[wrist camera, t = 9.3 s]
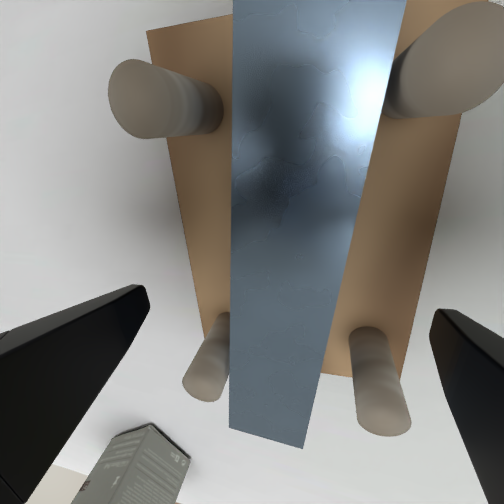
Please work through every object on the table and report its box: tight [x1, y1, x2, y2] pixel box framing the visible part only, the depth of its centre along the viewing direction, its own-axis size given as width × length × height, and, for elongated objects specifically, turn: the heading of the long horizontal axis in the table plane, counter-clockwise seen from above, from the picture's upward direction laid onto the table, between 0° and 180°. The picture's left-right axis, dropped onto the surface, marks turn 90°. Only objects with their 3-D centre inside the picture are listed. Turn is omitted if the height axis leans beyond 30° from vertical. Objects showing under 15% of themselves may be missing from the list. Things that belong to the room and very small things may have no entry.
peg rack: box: [108, 0, 504, 436], centre depth 12 cm, size 12×18×6 cm, turn 4°
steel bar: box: [229, 0, 407, 449], centre depth 11 cm, size 20×4×4 cm, turn 177°
